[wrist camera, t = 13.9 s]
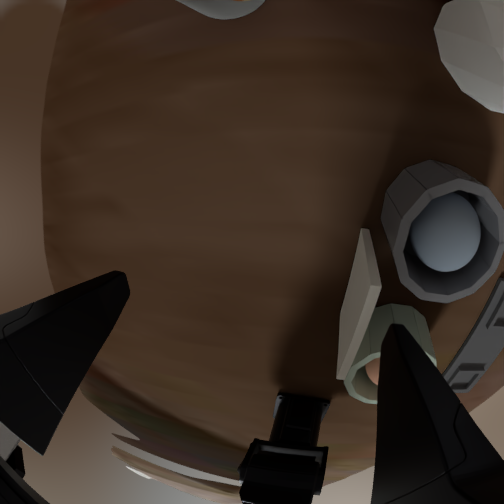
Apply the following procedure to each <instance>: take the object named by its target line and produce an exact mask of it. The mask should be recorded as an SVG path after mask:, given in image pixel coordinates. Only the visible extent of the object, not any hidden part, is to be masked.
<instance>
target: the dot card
mask: <svg viewBox="0 0 504 504" xmlns="http://www.w3.org/2000/svg"><path fill="white" fill-rule="evenodd" d="M381 288H382V285H381V280H380V275H379V270H378V266H377V261H376V256H375V252H374V248H373V243H372V239H371V235H370V231H369V229H364V228H361V231H360V236H359V240H358V245H357V249H356V254H355V258H354V262H353V266H352V271H351V275H350V279H349V282H348V286H347V290H346V294H345V298H344V301H343V305H342V308H341V312H340V328H339V347H338V362H337V375H336V379H339V380H345V378H346V376H347V374H348V372H349V369H350V367H351V365H352V363H353V360H354V358H355V356H356V354H357V351H358V349H359V346H360V344H361V342H362V339H363V337H364V334H365V332H366V329H367V327H368V324H369V321H370V319H371V316H372V313H373V311H374V308H375V305H376V302H377V299H378V296H379V294H380V291H381Z"/></svg>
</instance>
